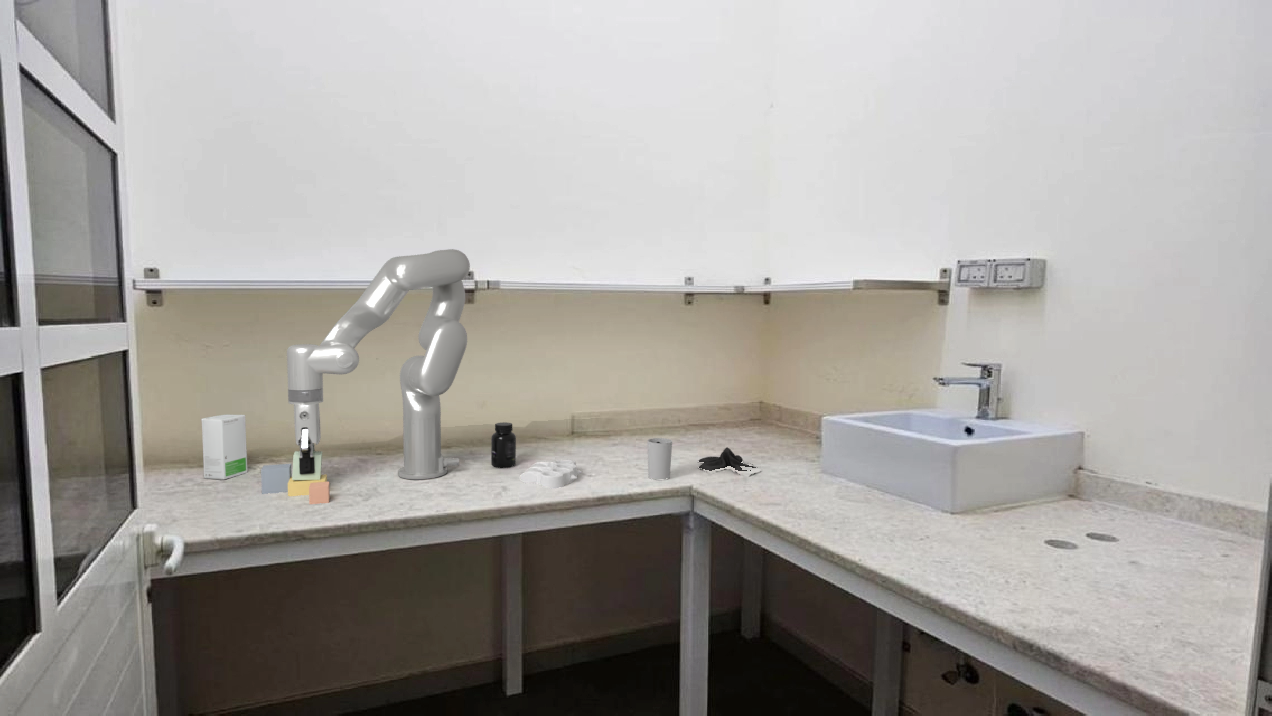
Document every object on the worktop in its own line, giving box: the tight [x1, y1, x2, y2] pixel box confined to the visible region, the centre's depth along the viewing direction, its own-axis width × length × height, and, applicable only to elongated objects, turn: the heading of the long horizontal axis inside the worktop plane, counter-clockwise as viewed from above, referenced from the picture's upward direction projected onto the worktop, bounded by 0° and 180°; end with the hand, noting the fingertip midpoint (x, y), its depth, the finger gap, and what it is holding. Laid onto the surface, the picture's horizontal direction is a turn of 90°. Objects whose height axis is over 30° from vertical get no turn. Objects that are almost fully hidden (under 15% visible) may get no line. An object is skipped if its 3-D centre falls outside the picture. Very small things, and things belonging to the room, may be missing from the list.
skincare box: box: [201, 414, 248, 480], centre depth 175 cm, size 8×7×16 cm
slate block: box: [260, 463, 293, 495], centre depth 163 cm, size 6×4×6 cm, turn 111°
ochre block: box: [287, 473, 328, 497], centre depth 163 cm, size 8×6×4 cm
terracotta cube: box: [308, 481, 331, 505], centre depth 155 cm, size 4×4×4 cm
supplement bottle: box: [490, 421, 517, 469], centre depth 190 cm, size 7×7×12 cm
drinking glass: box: [647, 437, 673, 480], centre depth 180 cm, size 7×7×10 cm
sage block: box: [292, 450, 323, 480], centre depth 162 cm, size 6×4×6 cm, turn 112°
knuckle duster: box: [519, 459, 583, 489], centre depth 178 cm, size 3×18×15 cm
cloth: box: [698, 447, 757, 471], centre depth 194 cm, size 22×19×6 cm
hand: (307, 470), depth 162 cm, fingers closed on sage block, 3 cm apart
